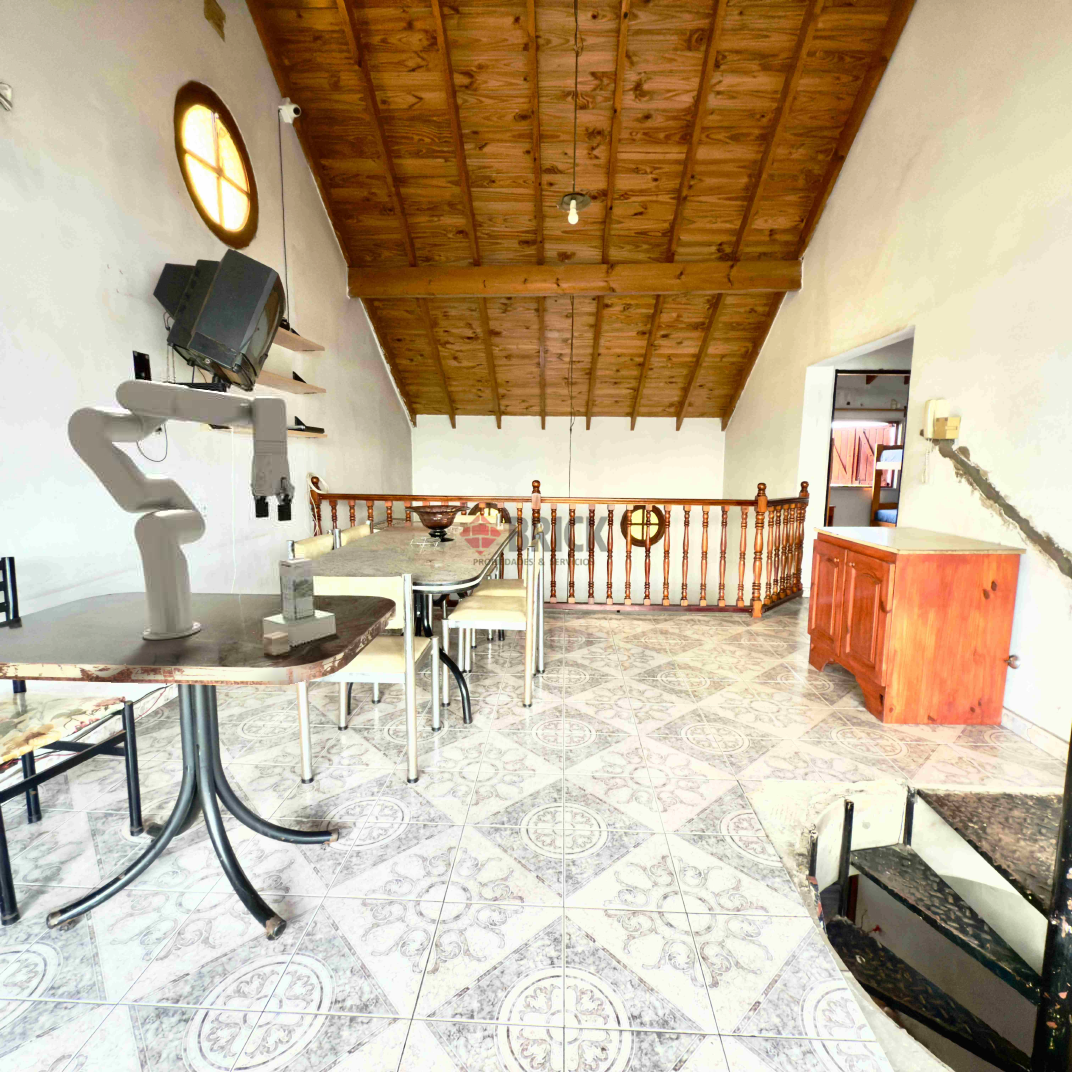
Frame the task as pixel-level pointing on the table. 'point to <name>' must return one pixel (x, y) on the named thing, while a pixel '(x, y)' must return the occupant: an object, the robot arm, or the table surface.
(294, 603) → the syrup box
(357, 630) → the table surface
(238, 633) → the table surface
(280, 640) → the ash block
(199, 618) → the table surface
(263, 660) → the table surface
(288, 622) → the podium
